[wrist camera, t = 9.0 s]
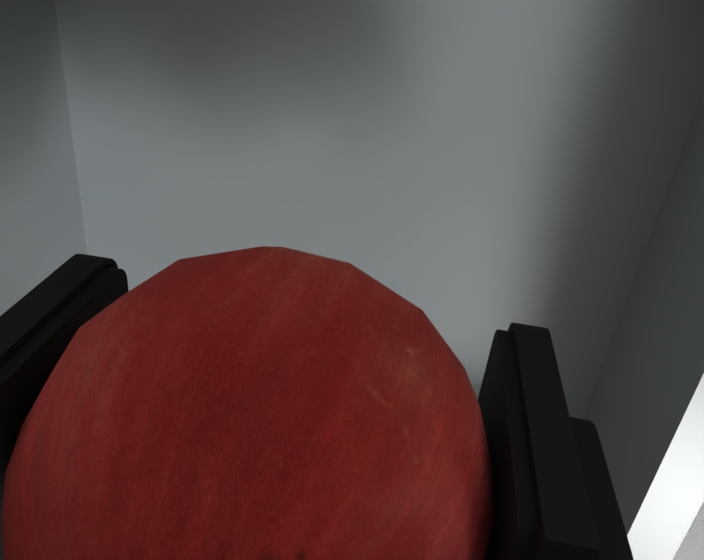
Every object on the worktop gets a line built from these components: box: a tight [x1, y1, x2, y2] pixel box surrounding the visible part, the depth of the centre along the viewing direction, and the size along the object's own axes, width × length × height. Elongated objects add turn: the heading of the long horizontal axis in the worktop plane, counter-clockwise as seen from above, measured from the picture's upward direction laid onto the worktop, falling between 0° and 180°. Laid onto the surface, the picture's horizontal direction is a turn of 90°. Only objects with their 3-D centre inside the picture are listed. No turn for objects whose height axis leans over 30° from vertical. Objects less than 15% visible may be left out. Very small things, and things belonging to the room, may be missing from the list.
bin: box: [0, 0, 704, 560], centre depth 13 cm, size 15×15×5 cm
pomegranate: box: [1, 246, 495, 560], centre depth 8 cm, size 6×6×8 cm
